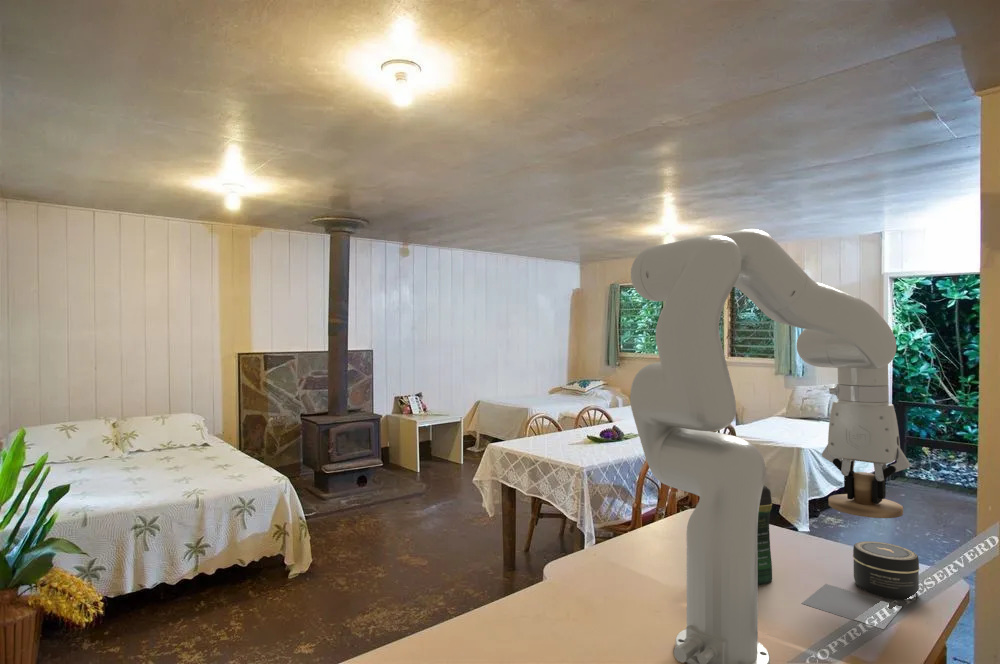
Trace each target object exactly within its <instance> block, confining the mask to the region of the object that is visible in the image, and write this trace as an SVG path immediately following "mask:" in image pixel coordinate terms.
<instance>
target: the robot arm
mask: <svg viewBox="0 0 1000 664" xmlns="http://www.w3.org/2000/svg"><path fill="white" fill-rule="evenodd" d="M630 279H631V283H632V286H633V288H634V290H635V291H636V293H638V295H640V296H641V297H642V298H644V299H645V300H649V301H651V302H665V303H664V306H663V308H662V309H661V312H660V313H659V314H660V315H659V316H658V320H657V323H656V326H655V327H656V328H655V343H656V347H657V352H658V356H659V362H655V363H654V362H653V363H650V364H648V365H645V366H643V367H642V368H641V369H639V370H638V372H637V373H636V374H635V376H634V378H633V380H632V383H631V386H630V387H631V388H630V392H629V393H630V395H629V397H630V398H629V399H630V400H629V402H630V408H631V412H632V417H633V419H634V423H635V426H636V429H637V433H638V436H639V440H640V444H641V447H642V450H643V453H644V457H645V461H646V462H647V465H648V468H649V470H650V472H651V473H652V475H653V476H654V477H655V479H657V481H659V482H660V483H661V484H663V485H666V486H667V487H671V488H674V489H677V490H679V491H683V492H687V493H690V494H693V495H695V496H697V497H699V500H698V503H697V504H696V507H695V508H694V510H693V511H692V513H691V514H690V516H689V518H688V521H687V526H686V628H685V629H683V630H681V631H680V632H678V634H677V635H676V637H675V647H674V649H673V655H674V658H675V659H676V660H677V661H678V662H679V663H686V664H771V657H770V653H769V652H768V649H767V648H766V647H765V646H764V645H763V644H762V643H761V642H760V641H758V639H759V637H758V636H759V633H758V629H759V627H758V626H759V625H758V623H759V622H758V618H759V617H758V616H759V615H758V608H759V607H758V603H759V601H758V600H759V599H758V597H759V596H758V593H759V592H758V590H759V589H758V586H759V585H758V580H757V561H758V559H757V528H758V512H759V505H760V499H761V494H762V490H763V486H765V478H766V463H765V460H764V457H763V454H762V453H761V452H760V450H759V449H758V448H757V446H755V445H754V444H752V443H751V442H750V441H748V440H746V439H743V438H741V437H739V436H736V435H732V434H726V433H721V432H717V431H720V430H724V429H726V428H727V427H729V426H730V425H731V424H732V422H733V421H734V419H735V417H736V412H737V401H736V397H735V393H734V388H733V384H732V383H733V382H732V381H731V376H730V373H729V372H730V371H729V369H728V365H727V360H726V357H725V353H724V350H723V344H722V340H721V335H720V319H721V316H722V315H721V314H722V312H723V309H724V307H725V304H726V301H727V299H728V297H729V295H730V293H731V292H732V290H733V289H734V288H736V289H738V290H739V291H740V292H741V293H742V294H743V295H745V296H746V297H747V298H748V299H749V300H750V301H751V302H752V303H753V304H754V305H755V306H757V308H759V310H760V311H762V312H763V314H764V315H765V316H767V317H768V318H769V319H770V320H772V321H774V322H777V323H780V324H784V325H786V326H790V327H794V328H798V329H804V330H802V332H800V334H799V335H798V337H797V341H796V351H797V354H798V357H800V359H801V360H803V362H805V363H806V364H808V365H810V366H812V367H816V368H817V367H818V368H835V369H836V368H837V384H836V385H834V386H829V388H828V392H829V395H834V396H836V399H837V400H834V401H832V404H831V408H830V415H829V421H828V435H827V445H826V447H824V450H823V451H822V453H821V457H822V458H824V459H825V460H827V461H829V462H830V463H832V464H833V465H834V466H835V467H836V468H837V469H838V470H839V471H840V473H841V475H842V476H843V485H844V486H843V491H844V494H847V498H848V499H853V498H854V477H853V473H854V472H855V471H854V470H855V462H862V463H872V464H873V469H874V475H875V477H874V479H875V480H873V481H872V502H873V503H874V504H879V503H880V502H881V501H882V499H886V492H887V491H886V479H888V478H889V477H890V476H892V475H893V474H894V473H897V472H900V471H903V470H907V469H909V468H910V466H911V463H910V461H909V460H908V458H907V457H906V455H905V453H904V452H903V450H902V448H901V444H900V443H901V441H900V434H899V433H900V432H899V431H900V430H899V425H898V419H897V414H896V411H895V406H894V404H892V403H890V397H889V396H890V395H889V393H890V392H889V391H890V390H889V389H890V388H889V387H890V386H889V364H891V362H892V361H893V360H894V358H895V355H896V353H897V342H896V341H897V340H896V337H895V335H894V332H893V330H892V329H891V326H890V325H889V324H888V322H886V320H885V319H884V318H883V316H882V315H881V314H880V313H879V312H878V311H877V310H876V308H874V307H873V306H872V305H870V304H869V303H868V302H866V301H864V300H862V299H861V298H859V297H857V296H854V295H851V294H849V293H847V292H844V291H842V290H840V289H836V288H835V287H832V286H830V285H826V284H824V283H821V282H818V281H815V280H813V278H811V277H810V276H809V275H808V273H806V272H805V271H804V269H802V267H801V266H799V264H798V263H797V262H796V261H795V260H794V259H793V258H792V257H791V256H790V255H789V254H788V253H787V252H786V251H785V249H784V248H783V247H782V246H781V245H780V244H779V243H778V242H777V241H776V240H775V239H774V238H773V237H772V236H771V235H770V234H769V233H767V232H765V231H763V230H761V229H760V230H759V229H756V228H748V229H739V230H734V231H730V232H724V233H720V234H716V235H701V236H696V237H690V238H687V239H682V240H678V241H674V242H667V243H664V244H660V245H655V246H650V247H647V248H645V249H644V250H642V251H640V253H639V254H637V256H636V257H635V259H634V260H633V262H632V264H631V268H630ZM895 461H896V462H895ZM893 462H895V463H893ZM892 463H893V464H892ZM888 464H890V465H889V466H888Z"/></svg>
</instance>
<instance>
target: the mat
mask: <svg viewBox="0 0 1000 664" xmlns="http://www.w3.org/2000/svg"><path fill="white" fill-rule="evenodd" d="M882 600H883V599H880V598H877V597H873V596H871V595H867V594H863V593H860V592H856V591H852V590H848V589H847V588H841V587H838V586H835V585H832V584H828V583H825V584H824V585H822V586H821V587H819V588H818V589H817V590H816V591H815V592H814V593H812V594H811V595H810V596H809V597H808V598H806V599H805V600H804V601H802V602H801V605H804V606H807V607H811V608H814V609H817V610H820V611H823V612H826V613H829V614H833V615H835V616H838V617H841V618H845V619H848V620H851V621H854V620H853V619H855V618H857V617H858V616H859V615H861V614H863V613H864V612H865V611H867V610H868V609H869V608H871V607H873V606H874V605H875V604H877V603H879V602H880V601H882ZM889 602H890V603H889V607H888V608H889V609H892V608H893V607H895V606H896V605H897V603H894V602H891V601H889ZM885 630H886V628H885V629H884V630H883V631H885Z"/></svg>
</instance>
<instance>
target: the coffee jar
mask: <svg viewBox="0 0 1000 664" xmlns="http://www.w3.org/2000/svg"><path fill="white" fill-rule="evenodd" d="M772 506H773V501H772V493H771V489H770V488H769V487H767V486H766V485H763V490H762V494H761V499H760V505H759V512H758V528H757V559H758V561H757V580H758V586H761V585H762V586H763V585H768V584H770V583H771V582H772V580H773V565H772V564H773V563H772V562H773V561H772V553H771V537H770V535H771V534H770V515H771V510H772Z"/></svg>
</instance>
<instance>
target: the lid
mask: <svg viewBox="0 0 1000 664" xmlns="http://www.w3.org/2000/svg"><path fill="white" fill-rule="evenodd" d="M853 477H854V498H853V499H848V498H847V493H841V494H839V493H838V494H833V495H830V496H829V497H828V499H827V500H828V507H830V508H832V509H834V510H835V511H838V512H840V513H844V514H849V515H852V516H858V517H865V518H871V519H872V518H874V519H894V518H895V519H896V518H900V517H902V516H903V515H904V506H903V505H901V503H898V502H896V501H893V500H890V499H887V498H885V499H882V501H881V502H880V503H879V504H874V503H873V502H872V481H873V480H875V479H874V477H875V473H871V472H866V471H865V472H864V471H854V473H853Z"/></svg>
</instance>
